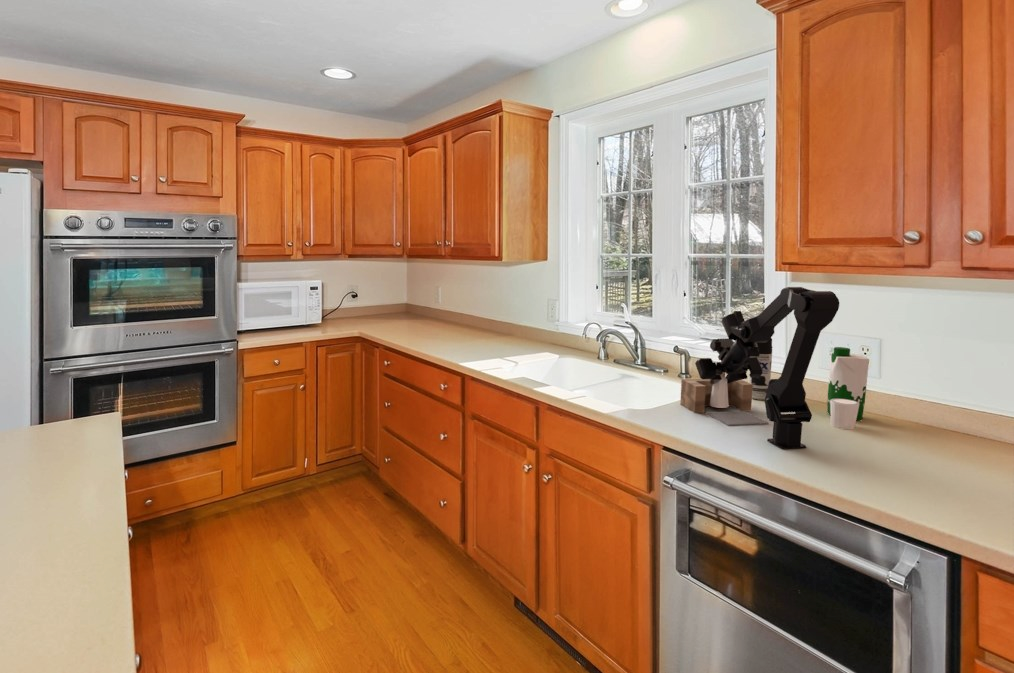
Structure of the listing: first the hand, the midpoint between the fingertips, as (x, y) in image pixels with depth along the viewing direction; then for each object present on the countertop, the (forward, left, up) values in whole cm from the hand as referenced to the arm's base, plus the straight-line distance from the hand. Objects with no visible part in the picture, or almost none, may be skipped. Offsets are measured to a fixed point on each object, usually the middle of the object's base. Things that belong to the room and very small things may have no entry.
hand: (717, 383), depth 172 cm
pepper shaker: (-1, 0, -7) cm, 7 cm away
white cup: (-22, -25, -8) cm, 34 cm away
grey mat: (-11, 0, -8) cm, 14 cm away
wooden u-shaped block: (+1, 0, -8) cm, 8 cm away
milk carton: (-14, -32, -8) cm, 36 cm away
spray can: (+10, -20, -8) cm, 24 cm away
